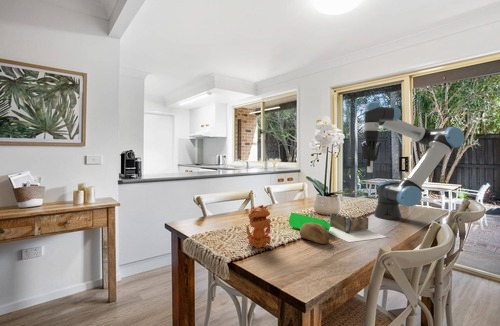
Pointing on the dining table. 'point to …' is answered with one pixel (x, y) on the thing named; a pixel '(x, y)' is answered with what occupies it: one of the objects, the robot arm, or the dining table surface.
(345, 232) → the hinge post
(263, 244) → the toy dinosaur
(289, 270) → the dining table surface
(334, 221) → the fence fixed
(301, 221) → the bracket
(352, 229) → the fence panel
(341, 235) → the card
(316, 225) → the bread roll
